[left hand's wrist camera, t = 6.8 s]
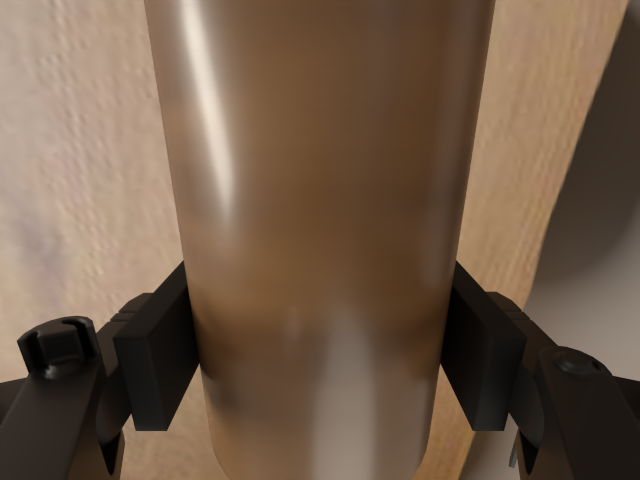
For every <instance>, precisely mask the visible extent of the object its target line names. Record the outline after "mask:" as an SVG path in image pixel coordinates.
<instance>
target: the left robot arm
mask: <svg viewBox="0 0 640 480" xmlns="http://www.w3.org/2000/svg"><path fill="white" fill-rule="evenodd" d="M17 343H18V346H19V348H20V351H21V354H22V356H23V359H24V362H25V364H26V367H27V370H28V372H29V374H28V376H27V378H22V379H18V380H13V381H8V382H3V383H0V480H120V474H121V467H122V460H123V453H124V447H125V440H124V434H123V430H122V427H123V426H124V424H125V422H126V421H127V419H128V418H129V416H130V415H131V414H132V418H133V422H134V426H135V429H136V431H167V430H168V427H169V425H170V423H171V421H172V419H173V417H174V415H175V413H176V411H177V409H178V407H179V405H180V402H181V400H182V398H183V396H184V394H185V392H186V390H187V388H188V386H189V384H190V382H191V380H192V377H193V375H194V373H195V371H196V369H197V367H198V365H199V356H198V349H197V343H196V336H195V330H194V323H193V317H192V310H191V304H190V297H189V291H188V284H187V278H186V271H185V265H184V260H183V261H182V262H181V263H180V265H179V266H178V267H177V268H176V269H175V270H174V271H173V272H172V273H171V274H170V275H169V276H168V278H167V279H166V280H165V281H164V282H163V283H162V284H161V285H160V286H159V287H158V288H157V289H156V291H155V292H154V293H143V294H141V295H139V296H137V297H135V298H134V299H132V300H130V301H128V302H127V303H126V304H125V305H124V306H123V307H122V308H121V309H120V310H119V313H116V314H115V315H114V316H113V317H112V318H111V319H110V322H107V323H106V324H105V325H104V326H103V327H102V328H101V329H100V330H99V331H98V332H97V333H96V332H95V329H94V325H93V321H92V320H90V319H89V318H88V317H83V316H70V317H63V318H59V319H55V320H51V321H48V322H46V323H43V324H41V325H38V326H36V327H34V328H33V329H31V330H29V331H28V332H26V333H24V334H23V335H22V336H21V337H20V338H19V339H18V340H17ZM440 363H441V365H442V368H443V370H444V372H445V374H446V376H447V378H448V380H449V382H450V384H451V386H452V388H453V390H454V393H455V395H456V397H457V399H458V401H459V403H460V405H461V407H462V409H463V411H464V413H465V415H466V418H467V420H468V422H469V424H470V426H471V428H472V430H473V431H504V428H505V424H506V421H507V417H508V413H510V415H511V416H512V418H513V419H514V421H515V423H516V424H517V426H518V431H517V434H516V438H515V441H514V445H513V449H512V452H511V456H510V461H509V466H510V467H513V468H514V466H515V463H516V460H517V459H518V466H519V473H520V479H521V480H640V381H635V380H630V379H626V378H621V377H616V376H612V374H611V372H610V371H609V370H608V369H607V368H606V367H605V365H604V364H602V363H601V362H599V361H598V360H596V359H595V358H594V357H592V356H590V355H588V354H585V353H583V352H581V351H579V350H575V349H572V348H568V347H563V346H558V345H557V344H556V343H555V342H554V341H553V340H552V339H551V338H550V337H548V336H547V335H546V334H545V333H544V332H543V331H542V330H541V329H540V328H539V327H538V326H537V325H536V324H535V323H534V322H533V321H532V320H530V318H529V317H528V316H527V315H526V314H525V313H524V312H522V311H521V309H520V308H519V307H518V306H517V305H516V304H515V303H514V302H513V301H512V300H510V299H508V298H507V297H505V296H503V295H501V294H499V293H498V292H485V291H484V290H483V289H482V288H481V286H480V285H479V284H478V283H477V282H476V281H475V280H474V279H473V278H472V277H471V276H470V275H469V273H468V272H467V271H466V270H465V269H464V268H463V267H462V266H461V265H460V264H459V263H458V262H457V260H456V263H455V269H454V276H453V282H452V289H451V295H450V302H449V308H448V315H447V322H446V328H445V335H444V341H443V348H442V354H441V361H440Z"/></svg>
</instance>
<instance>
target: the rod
mask: <svg viewBox="0 0 640 480" xmlns="http://www.w3.org/2000/svg"><path fill="white" fill-rule="evenodd" d="M495 1H496V0H144V3H145V10H146V17H147V23H148V30H149V36H150V43H151V49H152V56H153V62H154V69H155V75H156V82H157V88H158V95H159V101H160V108H161V114H162V121H163V128H164V134H165V141H166V147H167V154H168V160H169V167H170V173H171V180H172V186H173V193H174V199H175V206H176V212H177V219H178V225H179V232H180V239H181V245H182V252H183V258H184V265H185V271H186V278H187V284H188V291H189V297H190V304H191V310H192V317H193V323H194V330H195V336H196V343H197V349H198V356H199V363H200V369H201V376H202V382H203V389H204V395H205V402H206V408H207V415H208V421H209V428H210V434H211V440H212V445H213V449H214V452H215V455H216V457H217V460H218V462H219V464H220V466H221V468H222V469H223V471H224V472H225V474H226V476H227V477H228V478H229V479H230V480H410V479H411V478H412V477H413V475H414V474H415V472H416V470H417V469H418V467H419V466H420V464H421V462H422V459H423V457H424V454H425V452H426V448H427V444H428V439H429V433H430V426H431V420H432V413H433V407H434V400H435V394H436V387H437V380H438V374H439V367H440V361H441V354H442V348H443V341H444V335H445V328H446V322H447V315H448V308H449V302H450V295H451V289H452V282H453V276H454V269H455V263H456V256H457V250H458V243H459V236H460V230H461V223H462V217H463V210H464V204H465V197H466V191H467V184H468V178H469V171H470V164H471V158H472V151H473V145H474V138H475V132H476V125H477V119H478V112H479V106H480V99H481V92H482V86H483V79H484V73H485V66H486V60H487V53H488V47H489V40H490V34H491V27H492V20H493V14H494V7H495Z"/></svg>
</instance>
